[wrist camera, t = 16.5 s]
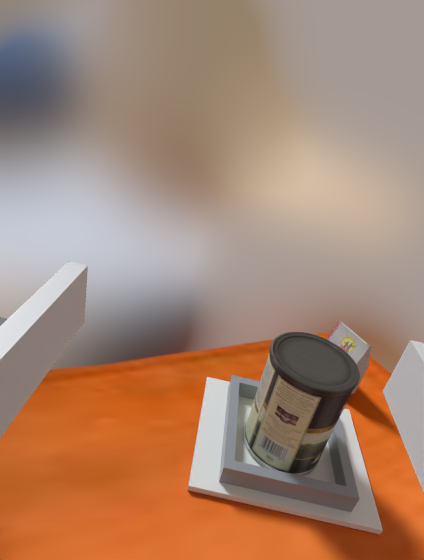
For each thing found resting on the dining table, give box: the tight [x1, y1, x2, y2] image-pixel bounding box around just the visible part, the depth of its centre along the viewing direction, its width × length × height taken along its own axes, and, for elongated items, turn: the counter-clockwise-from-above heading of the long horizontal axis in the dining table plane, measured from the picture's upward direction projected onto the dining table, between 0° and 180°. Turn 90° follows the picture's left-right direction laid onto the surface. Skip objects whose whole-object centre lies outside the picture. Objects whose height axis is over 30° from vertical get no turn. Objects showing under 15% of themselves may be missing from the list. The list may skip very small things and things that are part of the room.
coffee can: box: [243, 332, 360, 476], centre depth 48 cm, size 10×10×14 cm
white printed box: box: [326, 321, 371, 394], centre depth 64 cm, size 4×7×10 cm, turn 26°
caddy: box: [188, 375, 383, 535], centre depth 51 cm, size 22×18×3 cm
